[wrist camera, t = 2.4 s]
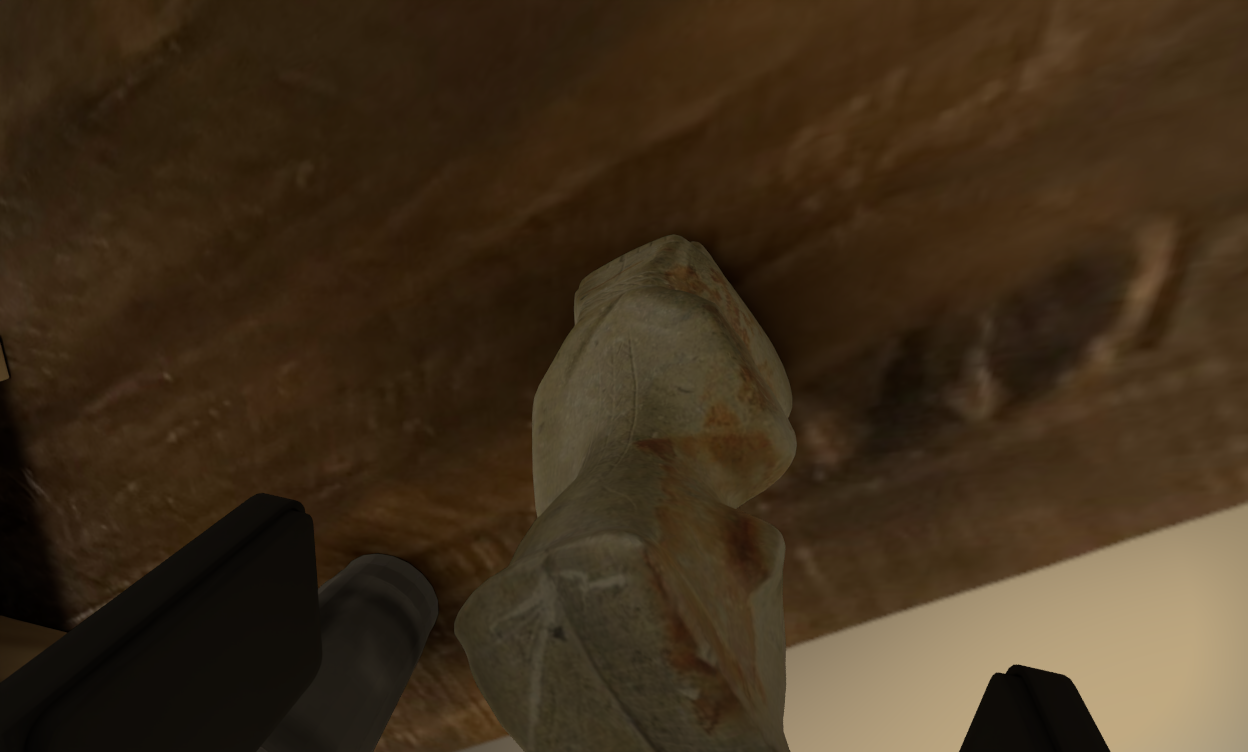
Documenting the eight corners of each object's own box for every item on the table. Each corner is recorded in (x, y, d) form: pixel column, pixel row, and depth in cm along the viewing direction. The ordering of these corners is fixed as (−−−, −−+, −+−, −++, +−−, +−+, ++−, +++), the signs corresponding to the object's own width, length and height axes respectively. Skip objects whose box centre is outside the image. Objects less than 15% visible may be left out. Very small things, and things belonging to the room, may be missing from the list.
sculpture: (659, 453, 24) (527, 909, 10) (567, 270, 22) (258, 529, 9) (819, 397, 22) (914, 861, 8) (732, 193, 20) (678, 363, 7)
